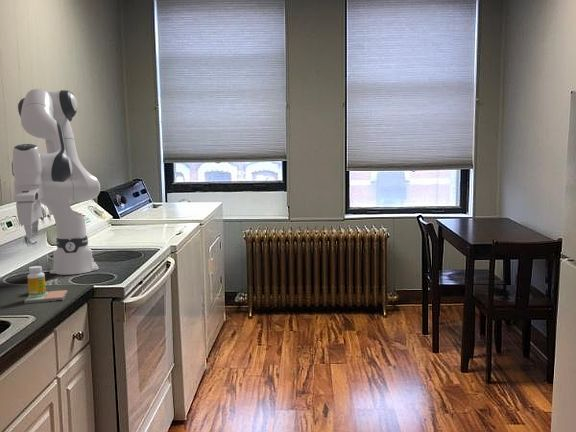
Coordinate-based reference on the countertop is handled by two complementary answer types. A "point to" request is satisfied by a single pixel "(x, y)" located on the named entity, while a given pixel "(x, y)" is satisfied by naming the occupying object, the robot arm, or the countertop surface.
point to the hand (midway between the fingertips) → (32, 235)
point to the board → (47, 297)
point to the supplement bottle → (36, 282)
